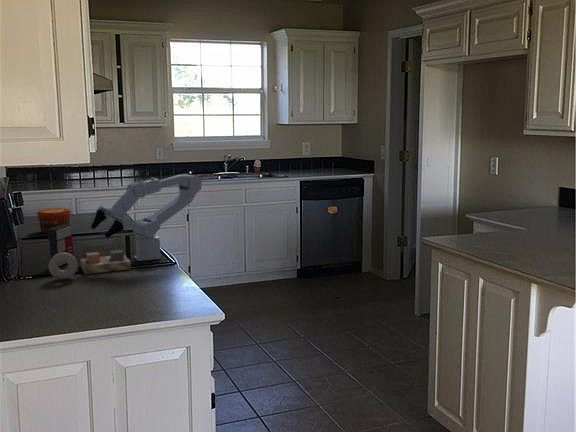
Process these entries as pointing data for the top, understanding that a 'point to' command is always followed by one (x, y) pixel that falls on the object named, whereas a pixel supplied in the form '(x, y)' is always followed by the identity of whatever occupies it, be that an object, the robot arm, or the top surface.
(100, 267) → the tan flat rectangular block
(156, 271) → the top surface
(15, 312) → the top surface
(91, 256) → the brown cube
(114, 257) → the gray cube
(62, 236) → the grey and red box
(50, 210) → the food container
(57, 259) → the donut
